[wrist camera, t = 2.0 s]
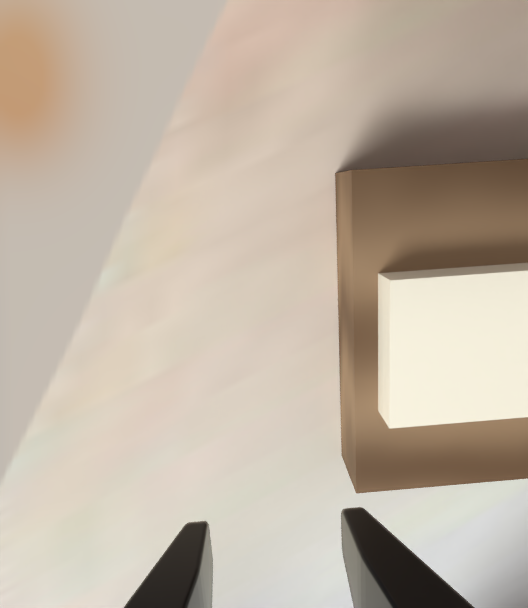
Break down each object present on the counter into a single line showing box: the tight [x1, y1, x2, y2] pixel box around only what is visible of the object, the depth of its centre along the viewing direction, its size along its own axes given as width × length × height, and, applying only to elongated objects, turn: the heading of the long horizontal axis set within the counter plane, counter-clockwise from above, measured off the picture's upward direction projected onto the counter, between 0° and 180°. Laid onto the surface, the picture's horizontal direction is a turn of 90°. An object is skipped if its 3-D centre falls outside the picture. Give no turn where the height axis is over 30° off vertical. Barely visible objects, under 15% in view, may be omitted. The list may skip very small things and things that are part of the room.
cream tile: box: [378, 263, 528, 429], centre depth 18 cm, size 6×8×2 cm
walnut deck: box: [335, 159, 528, 493], centre depth 20 cm, size 14×12×3 cm
